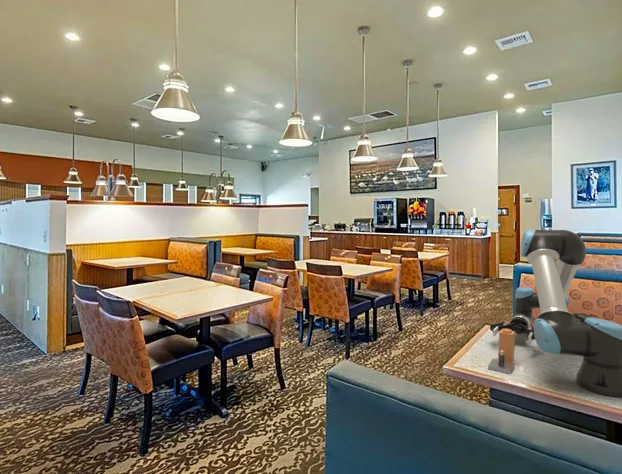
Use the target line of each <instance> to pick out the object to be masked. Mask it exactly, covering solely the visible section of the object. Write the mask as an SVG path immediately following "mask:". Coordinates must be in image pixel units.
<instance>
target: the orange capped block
mask: <svg viewBox="0 0 622 474" xmlns="http://www.w3.org/2000/svg"><path fill="white" fill-rule="evenodd" d="M515 344H516V333H515V331H512V330H511V329H501V331H498V357H497V360H499V350H504V351H505V362H510V363H514V361H515V346H516V345H515Z"/></svg>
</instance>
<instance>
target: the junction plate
mask: <svg viewBox="0 0 622 474" xmlns="http://www.w3.org/2000/svg"><path fill="white" fill-rule="evenodd" d="M498 352H499V360H498V359H495V358H492V359H491V360H490V362H489V363H488V365H487V369H488V370H490V369H493V370H492V371H495V370H496V371H495V372H499V371H500V372H499V373H503V374H504V373H505V374H509V375H511V374H512V373H513V371H514V370H515V368H516V364H515V362H513V363H510V362H505V351H504V350H499V349H498Z"/></svg>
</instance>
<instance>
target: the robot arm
mask: <svg viewBox="0 0 622 474" xmlns="http://www.w3.org/2000/svg"><path fill="white" fill-rule="evenodd" d="M520 242H521V243H520V256H521V257H522V258H526V260H527V263H529V264H530V265H531V266H532V273H533V277H534V283H535V288H536V292H534V289H533V288H530V287H524V286H523V287H522V286H521V287H516V290H515V296H514V298H515V299H514V301H515V302H514V305H515V306H514V307H515V308H514V316H513V318H511V320H510V321H509V323H505V322H504V321H500V322H496V323H491V324H489V330H490V331H491V332H492V337H496V336H497V334H499V332H500V331H501V329H511V330H512V331H515V334H518V335H527V337H528V338H527V339H528V340H527V342H528V343H529V344H530V343H532V341H534V340H535V342H536V344H537V346H538V348H539V349H540V350H541V351H542V352H543V353H547V354H548V353H550V354H553V355H554V354H555V355H568V356H580V357H583V359H582V363H581V365H580V367H579V369H578V372H577V373H576V377H575V379H576V380H575V381H576V383H577V384H578V386H580V387H581V388H583V389H585V390H587V391H590V392H592V393H596V394H599V395H602V396H607V397H608V396H609V397H615V396H616V398H617V397H618V398H621V397H622V325H621V324H619V323H617V322H614V321H611V320H606V319H602V318H597V317H594V318H586V319H585V320H584V321H585V322H575V318H574V315H573V314H574V313H572V312H570V311H568V308H569V304H570V299H569V297H568V295H567V293H568V291H569V288H570V287H571V284H572V282H573V279H574V276H576V273H577V269H578V268H579V266H580V265H582V264H583V263H584V261H585V259H586V256H587V247H586V245H585V244H586V243H584V240H583V239H582V238H581V237H580V235H578V234H577V233H575V232H573V231H570V230H567V229H537V228H536V229H535V228H534V229H527V230H525V231H524V232H523V234H522V237H521V241H520ZM533 309H539V310H540V313H539V314H538V315H537V317H536V319H535V320H534V317H533ZM533 321H534V322H533ZM532 323H533V326H531V325H532ZM530 326H531V327H530Z"/></svg>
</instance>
